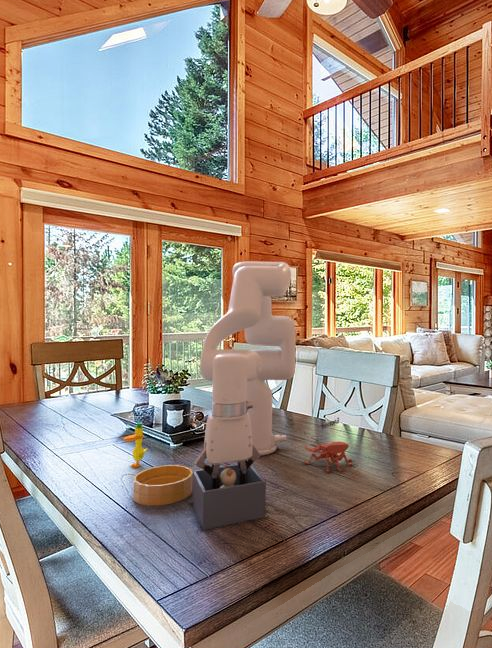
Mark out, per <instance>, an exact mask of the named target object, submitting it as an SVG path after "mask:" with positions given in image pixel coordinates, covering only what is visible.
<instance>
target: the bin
mask: <svg viewBox="0 0 492 648" xmlns="http://www.w3.org/2000/svg"><path fill="white" fill-rule="evenodd" d="M227 465H228V466H230V469H232V470H234V471H235V473H236V471H237V470H238V468H239V467H238V463H236V464H227ZM224 466H225V465H223V466H220V467H219V471H218V476H219V478H220V474H221V473H222V471H224ZM192 471H193V481H192V493H191V496H192V497H191V503H192V505H193V507H194V510H195V512H196V515H197V517H198V520H199V522H200V524H201V527H200V528H201V529H202V531H204V530H205V531H206V530H209V529H215V528H219V527H223V526H224V527H225V526H229V525H233V524H238V523H239V524H240V523H243V522H248V521H253V520H258V519H262V518H266V505H267V504H266V501H267V500H266V497H267V494H266V493H267V481H266V480H265V479H264V478H263V476H262V475H261V474H260V473H259V472H258V470H256V469H255V467H254V466H253V464H252V465H251V466H250V467H249V468H248V469H247V472H246V473H245V484H243V485H237V486H236V481H235V482H234V483H233V485H235V486H231V487H225V488H219V489H213V490H211V476H210V475H209V474H208V473H207V472H206V471H205V470H203V469H201V468H200V469H196V470H195V469H193V470H192ZM222 485H223V484H222V483H221V482H220V487H221V486H222Z"/></svg>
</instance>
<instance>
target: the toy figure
mask: <svg viewBox="0 0 492 648" xmlns="http://www.w3.org/2000/svg"><path fill="white" fill-rule="evenodd" d="M145 437H146V436H145V435H144V426H143V422H136V426H135V428H134V434H131V435H127V436H124V437H123V439H122V440H123V441H125V442H126V443H130V442H134V443H135V447H134V449H133V450H132V458H133V460H134V462H133V463H132V464H131V467H132V468H133V469H135V468H139V467H141V466H142V465H141V464H140V462H141V461H142V460H143V458H144V456H145V454H146V452H147V450H148V448H143V446H142V444H143V438H145Z"/></svg>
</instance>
